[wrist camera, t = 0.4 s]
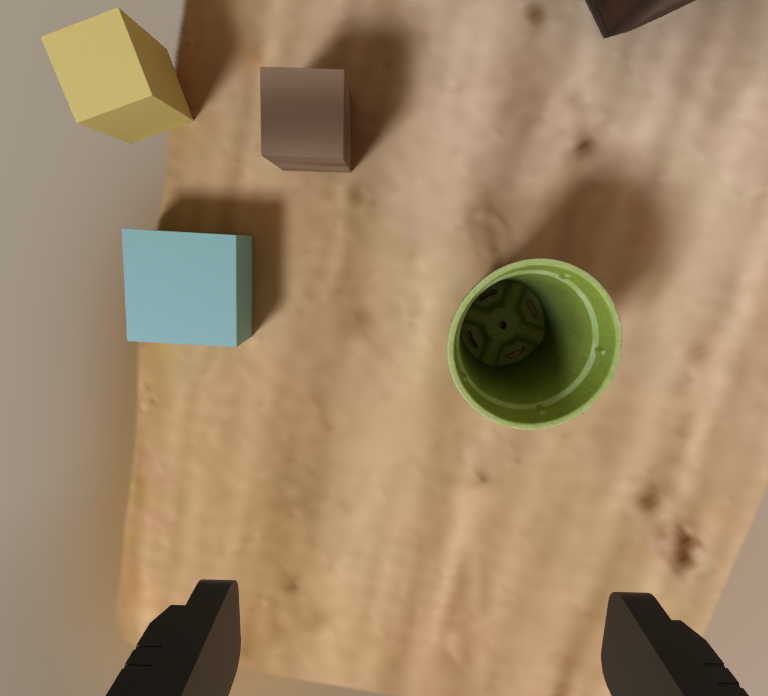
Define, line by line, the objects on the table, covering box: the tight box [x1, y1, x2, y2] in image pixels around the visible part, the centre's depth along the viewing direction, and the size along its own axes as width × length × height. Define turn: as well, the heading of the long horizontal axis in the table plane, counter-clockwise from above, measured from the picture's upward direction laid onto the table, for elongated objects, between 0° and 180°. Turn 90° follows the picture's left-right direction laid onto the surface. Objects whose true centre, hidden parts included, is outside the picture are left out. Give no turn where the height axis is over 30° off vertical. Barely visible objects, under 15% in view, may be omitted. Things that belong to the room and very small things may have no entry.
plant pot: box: [447, 258, 622, 430], centre depth 32 cm, size 9×9×9 cm
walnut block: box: [260, 67, 352, 173], centre depth 31 cm, size 4×4×6 cm
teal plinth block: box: [122, 229, 252, 347], centre depth 34 cm, size 7×7×4 cm
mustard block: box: [41, 7, 193, 144], centre depth 30 cm, size 4×4×6 cm
